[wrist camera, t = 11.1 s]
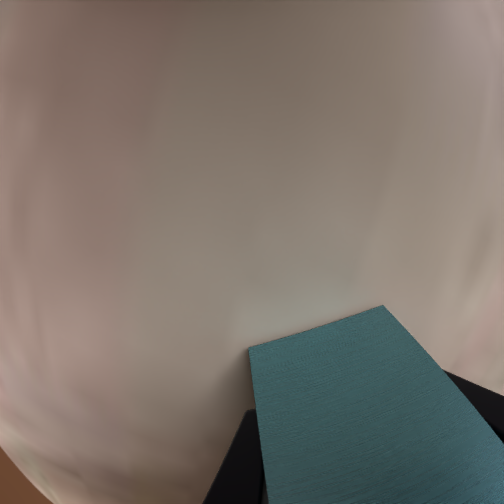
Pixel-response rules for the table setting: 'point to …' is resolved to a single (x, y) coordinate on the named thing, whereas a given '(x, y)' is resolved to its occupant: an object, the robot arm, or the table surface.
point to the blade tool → (368, 420)
